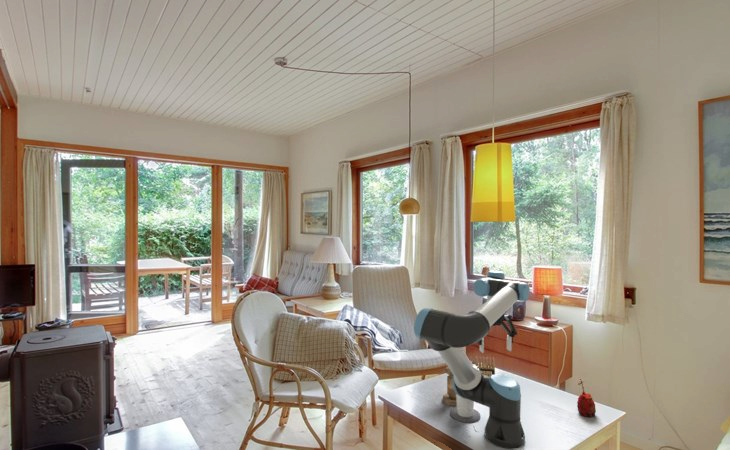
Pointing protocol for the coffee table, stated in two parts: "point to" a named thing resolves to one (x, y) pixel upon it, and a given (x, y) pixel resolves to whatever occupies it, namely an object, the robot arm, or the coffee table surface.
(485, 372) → the ammunition clip
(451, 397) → the doorknob
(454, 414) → the pad
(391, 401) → the coffee table surface
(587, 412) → the red bumpy oval
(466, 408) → the white cup
